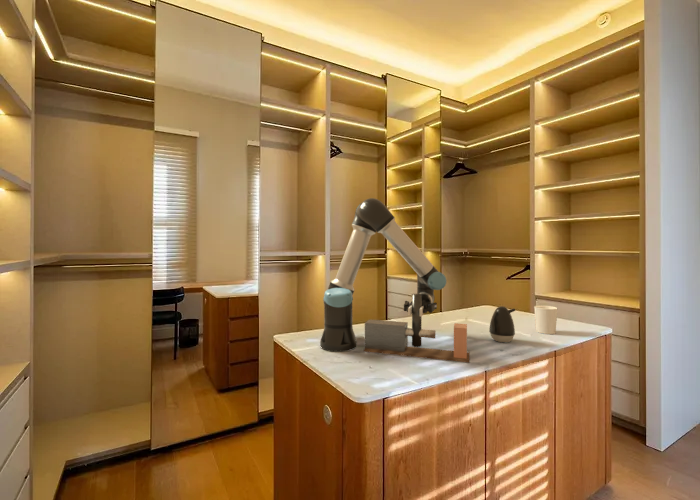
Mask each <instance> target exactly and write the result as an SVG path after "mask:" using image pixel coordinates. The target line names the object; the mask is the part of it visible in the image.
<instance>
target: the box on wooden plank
mask: <svg viewBox="0 0 700 500" xmlns="http://www.w3.org/2000/svg"><path fill="white" fill-rule="evenodd" d="M408 325H409V324H408V322H407V321H396V320H381V319H368V320H367V321H365V322H364V348H368V349H378V350H388V351H398V352H405V351H406V349H407V347H409V344H408V343H409V341H408V337H409V336H405V328H409V327H408Z"/></svg>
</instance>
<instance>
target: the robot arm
mask: <svg viewBox="0 0 700 500" xmlns="http://www.w3.org/2000/svg"><path fill="white" fill-rule="evenodd" d="M351 228H352V231H351V234H350V237H349V240H348V244H347V246H346V248H345V251H344V254H343V257H342V259H341V262H340V265H339V268H338V270H337V273H336V276H335V278H334V279H331V280H330V281H329V285H328V287H327V289H326V290H325V291H324V296H323V307H324V309H323V310H324V314H323V315H324V319H323V322H324V324H323V325H324V329H323V330H322V331H323V332H322V334H321V337H320V342H319V344H320V345H319V346H321V347H322V348H324V349H326V350H325V351H328V350H330V352H347V351H351V350H354V349H356V348H357V346H358V345H357V344H358V342H357V337H356V335H355V331H354V329H353V300H354V296H353V295H354V294H355V288H354V283H355V281H356V278H357V275H358V271H359V270H360V267H361V264H362V261H363V259H364V257H365V254H366V250H367V248H368V246H369V243H370V240H371V237H372V236H374V235H376V234H377V233H378V234H381V235H382V236H383V238H385V240H387V242H388V243H389V244H390V245H391V246H392V247H393V249H395V251H396V252H397V254H399V255H400V256H401V258H402V259H404V260H405V262H406V263H407V264H408V265H409V267H410V268H411V269H413V271H414V272H415V273H416V276H417V277H416V279H417V281H416V288H417V289H416V294H422V307H421V308H420V316H423V315H424V314H427V313H429V314H432V313H433V312H434V311H435V310H437V309H438V308H437V307H438V306H437V305H438V304H437V302H435V294H434V293H435V292H434V291H440V290H442V289H444V288H445V287H446V285H447V277H446V276H445V274H444V273H442V272H440V271H439V270H438V269H437V268H436V267H435V266H434V265H433V263H432V262H431V261H430V260H429V258H428V257H426V255H425V254H424V253H423V252H422V250H420V248H419V247H418V246H417V245H416V243H415V242H414V241H413V240H412V239H411V238H410V237H409V236H408V235H407V233H406V232H405V231H404V230H403V229H402V227H401V226H399V224H398V223H397V222H396V217H395V216H394V215H393V214H392V212H391V211H390V210H389V209H388V207H387V206H386V205H385V204H384V203H383V202H382V201H381V200H379V199H378V198H374V197H369V198H367V199H364V200H363V201H361V203H359V205H358V206H357V208H356V210H355V214H354V217H353V219H352V222H351ZM403 312H406V313H407V316H412V301H407V300H405V301H404V304H403ZM321 347H320V348H321ZM322 348H321V349H322ZM324 349H323V350H324Z"/></svg>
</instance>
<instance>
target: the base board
mask: <svg viewBox="0 0 700 500" xmlns="http://www.w3.org/2000/svg"><path fill="white" fill-rule="evenodd" d="M363 352H364V353H375V354H382V355H383V354H385V355H392V356H393V355H394V356H401V357H402V356H403V357H413V358H423V359H431V360H440V361H441V360H442V361H451V362H458V363H459V362H461V363H469V364H470V363H471V362H470V361H471V360H470V356H471V355H470V351H467V359H465V358H455V357H454V350H449V349H436V348H427V347H414V346H408V347H407V349H406V351H405V352H398V351H388V350H378V349H368V348H365V347H364V348H363Z"/></svg>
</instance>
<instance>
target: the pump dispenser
mask: <svg viewBox="0 0 700 500" xmlns="http://www.w3.org/2000/svg"><path fill="white" fill-rule="evenodd" d="M514 312H516V309H515V308H511V309H508V307H506V306H504V305H503V306H501V305H500V306H498V307H496V309H495V310H494V312H492V313H493V314H492V316H491V319H490V324H489V333H490V334H489V335H490V337H491V338H492V340H494V341H495V342H498V343H502V342H507V343H510V342H511V341H513V339H514V337H515V334H516V330H515V324H514V319H513V316H512V314H511V313H514Z"/></svg>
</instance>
